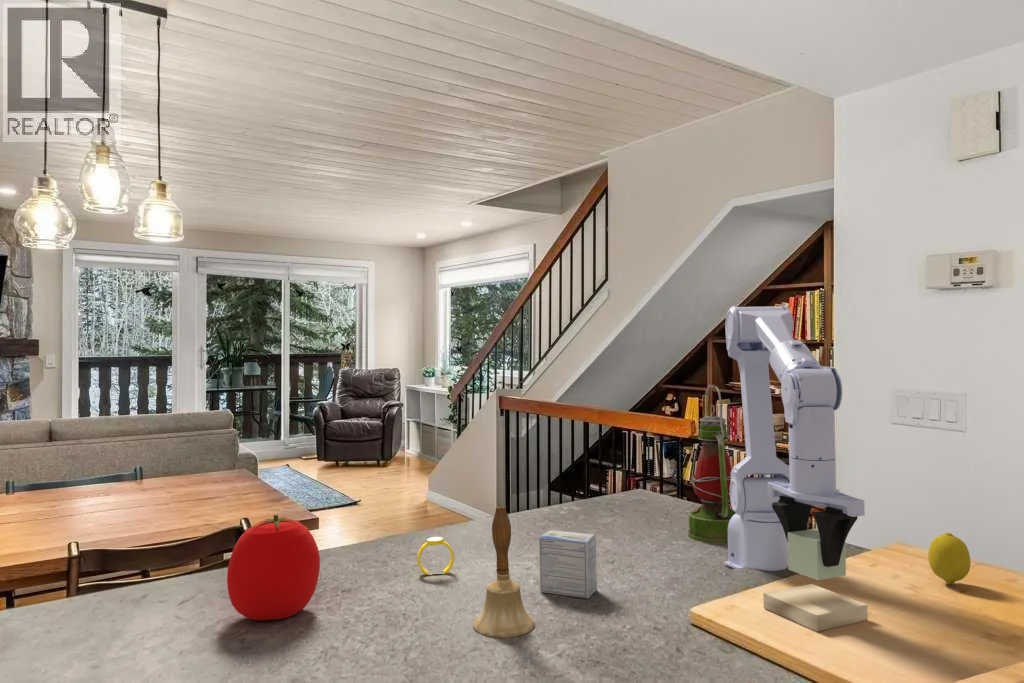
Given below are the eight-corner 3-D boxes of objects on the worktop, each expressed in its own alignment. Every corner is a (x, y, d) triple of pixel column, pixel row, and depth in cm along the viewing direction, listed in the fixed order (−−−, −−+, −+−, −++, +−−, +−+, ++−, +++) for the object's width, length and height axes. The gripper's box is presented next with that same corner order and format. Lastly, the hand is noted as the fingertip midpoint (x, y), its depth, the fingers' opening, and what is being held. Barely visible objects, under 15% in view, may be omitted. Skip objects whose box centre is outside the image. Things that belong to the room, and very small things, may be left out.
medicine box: (597, 590, 106) (596, 534, 106) (588, 600, 102) (587, 541, 102) (549, 584, 109) (549, 529, 110) (539, 593, 105) (538, 536, 106)
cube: (788, 569, 94) (787, 532, 94) (815, 565, 96) (815, 528, 96) (817, 580, 89) (817, 541, 89) (845, 575, 91) (845, 537, 91)
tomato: (231, 638, 90) (230, 528, 90) (223, 610, 100) (223, 511, 100) (329, 619, 96) (328, 517, 96) (312, 595, 106) (311, 502, 106)
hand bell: (513, 643, 87) (512, 516, 88) (460, 629, 92) (459, 509, 92) (545, 621, 94) (544, 503, 95) (495, 610, 99) (493, 497, 99)
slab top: (763, 607, 94) (763, 593, 94) (811, 598, 98) (811, 583, 98) (817, 631, 86) (817, 615, 86) (867, 619, 90) (867, 604, 90)
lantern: (678, 528, 143) (675, 383, 144) (728, 527, 144) (725, 383, 144) (699, 547, 129) (697, 386, 130) (755, 545, 130) (752, 385, 130)
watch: (419, 579, 113) (416, 543, 113) (418, 574, 116) (415, 539, 116) (455, 574, 114) (452, 538, 114) (453, 569, 117) (450, 534, 117)
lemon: (977, 591, 104) (976, 537, 104) (937, 589, 105) (935, 536, 105) (961, 579, 109) (960, 528, 109) (923, 577, 110) (922, 527, 110)
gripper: (880, 463, 87) (883, 570, 87) (793, 449, 101) (795, 542, 101) (840, 467, 85) (842, 578, 84) (755, 452, 98) (757, 548, 98)
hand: (814, 559), depth 92 cm, fingers closed on cube, 5 cm apart
